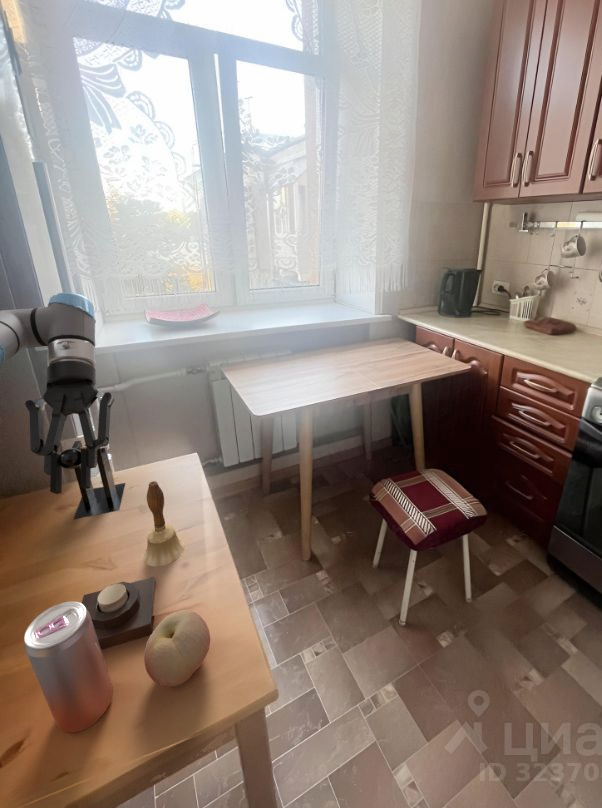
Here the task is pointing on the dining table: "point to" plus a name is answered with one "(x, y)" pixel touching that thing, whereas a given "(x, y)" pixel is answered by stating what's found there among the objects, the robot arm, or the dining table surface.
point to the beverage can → (69, 665)
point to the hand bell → (160, 532)
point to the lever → (71, 458)
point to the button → (112, 598)
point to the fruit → (176, 648)
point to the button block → (124, 614)
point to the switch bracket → (99, 489)
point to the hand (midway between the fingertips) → (71, 489)
